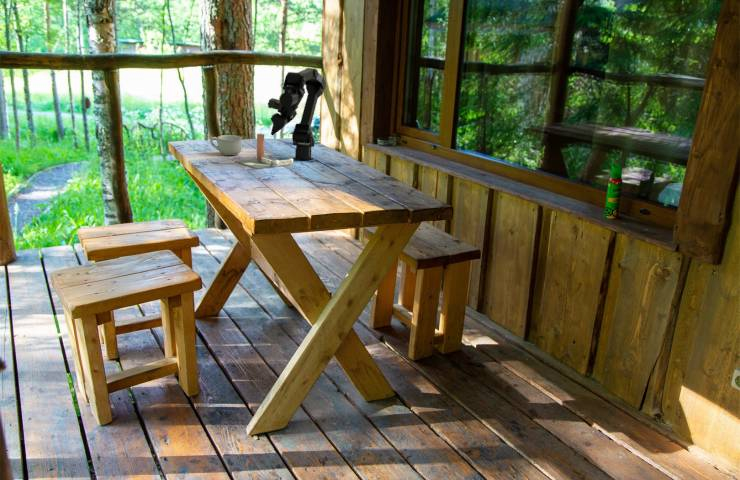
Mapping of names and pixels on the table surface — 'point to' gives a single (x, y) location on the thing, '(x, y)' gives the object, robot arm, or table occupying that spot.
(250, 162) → the board
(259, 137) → the brown cylinder with stick
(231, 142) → the teacup
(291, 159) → the cream dumbbell
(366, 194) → the table surface
